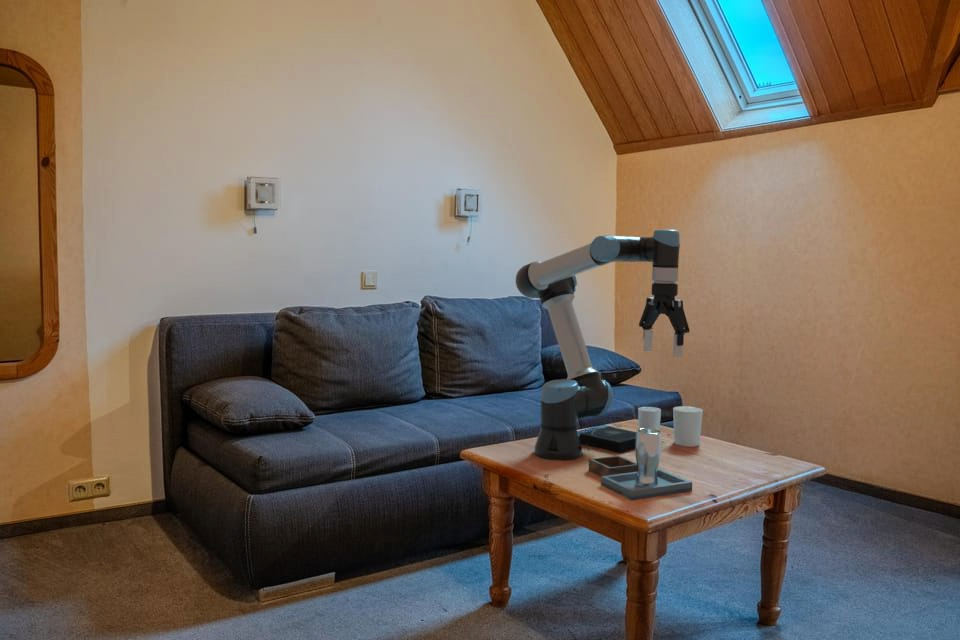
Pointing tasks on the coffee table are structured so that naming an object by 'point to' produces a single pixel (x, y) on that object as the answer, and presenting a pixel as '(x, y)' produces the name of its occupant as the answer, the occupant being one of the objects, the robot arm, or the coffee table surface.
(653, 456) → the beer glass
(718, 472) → the coffee table surface
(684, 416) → the candle holder
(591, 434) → the portable cd player
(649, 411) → the white cup
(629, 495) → the slate tray
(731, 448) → the coffee table surface
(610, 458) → the walnut holder
